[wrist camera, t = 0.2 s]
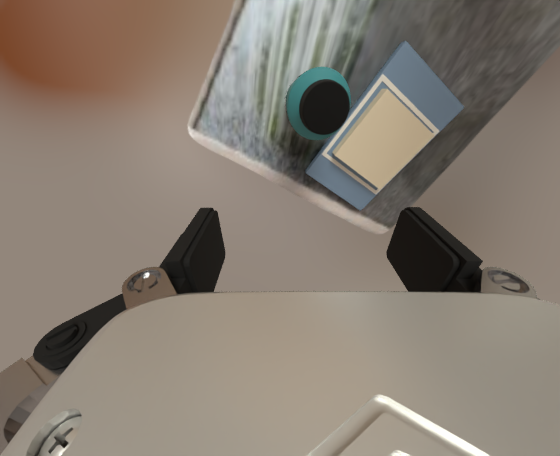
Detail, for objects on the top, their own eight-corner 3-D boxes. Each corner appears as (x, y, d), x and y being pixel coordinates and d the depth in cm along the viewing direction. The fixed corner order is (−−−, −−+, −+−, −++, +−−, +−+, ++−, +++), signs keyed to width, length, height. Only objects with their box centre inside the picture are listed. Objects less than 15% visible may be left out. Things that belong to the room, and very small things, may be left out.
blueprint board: (400, 42, 30) (413, 37, 27) (457, 106, 34) (474, 108, 31) (305, 170, 40) (306, 176, 37) (358, 207, 44) (363, 215, 41)
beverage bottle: (309, 131, 36) (332, 167, 19) (276, 107, 34) (270, 124, 17) (334, 92, 33) (388, 96, 16) (299, 64, 31) (320, 34, 14)
